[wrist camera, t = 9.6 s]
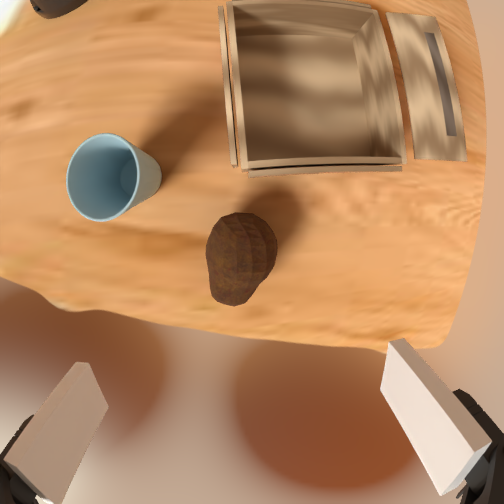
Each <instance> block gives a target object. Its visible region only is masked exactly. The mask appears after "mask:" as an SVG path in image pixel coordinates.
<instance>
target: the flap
mask: <svg viewBox="0 0 504 504" xmlns="http://www.w3.org/2000/svg"><path fill="white" fill-rule="evenodd" d="M386 18H387V21H388V24H389V27H390V30H391V34H392V37H393V40H394V44H395V48H396V52H397V55H398V59H399V64H400V68H401V72H402V77H403V82H404V87H405V92H406V98H407V103H408V110H409V116H410V123H411V131H412V140H413V150H414V159H426V160H447V161H462V162H467V153H466V143H465V134H464V126H463V120H462V113H461V107H460V102H459V97H458V92H457V87H456V83H455V79H454V74H453V70H452V67H451V63H450V59H449V56H448V52H447V49H446V46H445V43H444V40H443V37H442V34H441V31H440V28H439V25H438V23H437V20H436V17H432V16H424V15H416V14H405V13H389V12H386Z"/></svg>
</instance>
